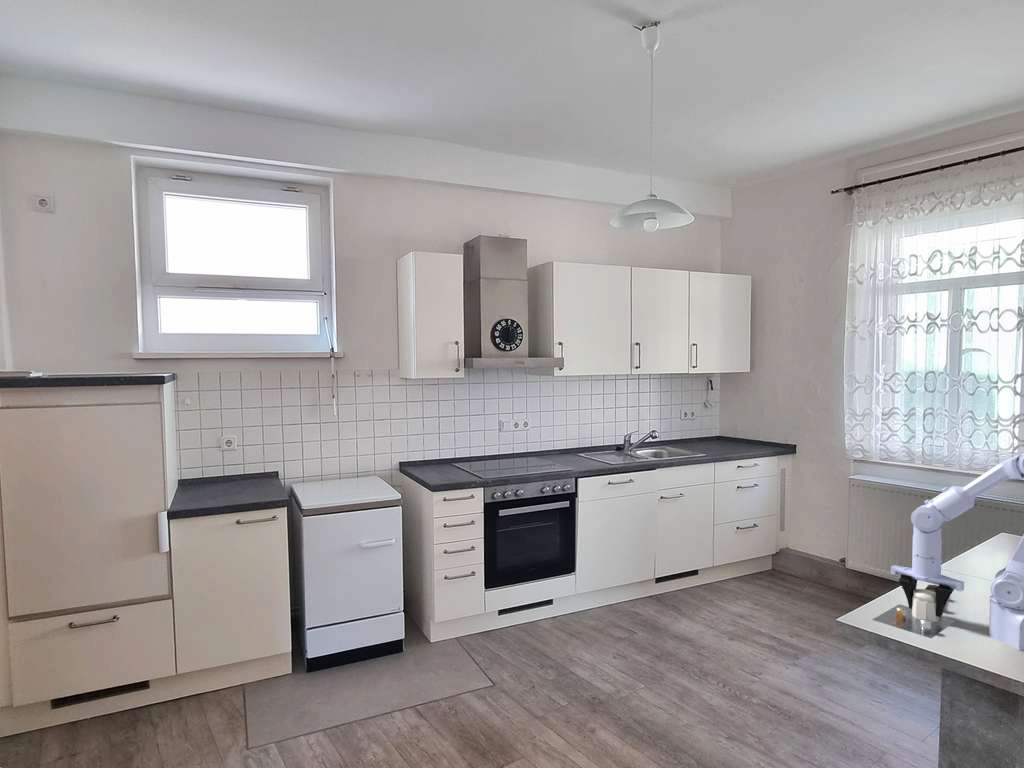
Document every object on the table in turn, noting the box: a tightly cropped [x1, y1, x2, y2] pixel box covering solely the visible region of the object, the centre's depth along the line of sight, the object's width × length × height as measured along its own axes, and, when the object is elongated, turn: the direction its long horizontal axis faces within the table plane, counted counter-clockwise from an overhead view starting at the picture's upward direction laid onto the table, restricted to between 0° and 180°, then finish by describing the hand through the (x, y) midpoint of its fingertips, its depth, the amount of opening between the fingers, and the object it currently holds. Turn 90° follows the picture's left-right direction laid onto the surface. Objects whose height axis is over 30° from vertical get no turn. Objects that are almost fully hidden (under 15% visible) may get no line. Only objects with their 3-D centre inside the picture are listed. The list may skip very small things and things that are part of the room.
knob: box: [912, 588, 939, 622], centre depth 141 cm, size 5×5×6 cm
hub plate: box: [871, 603, 957, 639], centre depth 139 cm, size 16×12×4 cm
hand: (925, 611), depth 141 cm, fingers closed on knob, 5 cm apart
